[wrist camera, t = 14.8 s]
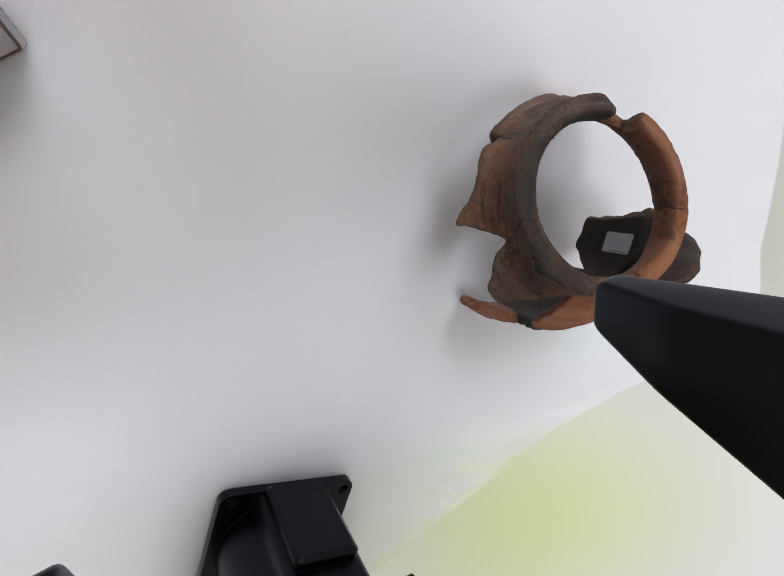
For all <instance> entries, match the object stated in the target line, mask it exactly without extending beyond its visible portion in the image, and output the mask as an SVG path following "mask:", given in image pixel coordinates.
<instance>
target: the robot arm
mask: <svg viewBox="0 0 784 576" xmlns="http://www.w3.org/2000/svg"><path fill="white" fill-rule="evenodd" d="M594 324H595V326H596V328H597V330H598V331H599V332H600V333H601V334H602V336H603V337H604V338H605V339H606V340H607V341H608V342H609V343H610V344H611V345H612V346H613V347H614V348H615V349H616V350H617V351H618V352H619V353H620V354H621V355H622V356H623V357H624V358H625V359H626V360H627V361H628V362H629V363H630V364H631V365H632V366H633V367H634V368H635V369H636V371H637V372H638V373H639V374H640V375H641V376H642V377H643V378H644V379H645V380H646V381H647V382H648V383H649V384H650V385H651V386H652V387H653V388H654V389H655V390H656V391H657V392H659V393H660V394H661V395H662V396H663V397H664V398H665V399H666V400H667V401H669V402H670V403H671V404H672V405H674V406H675V407H676V408H677V409H678V410H679V411H681V412H682V413H683V414H684V415H685V416H686V417H688V418H689V419H690V420H691V421H692V422H693V423H695V424H696V425H697V426H698V427H699V428H700V429H702V430H703V431H704V432H705V433H706V434H707V435H709V436H710V437H711V438H712V439H713V440H714V441H716V442H717V443H718V444H719V445H720V446H721V447H723V448H724V449H725V450H726V451H728V452H729V453H730V454H731V455H732V456H733V457H734V458H736V459H737V460H738V461H739V462H740V463H741V464H743V465H744V466H745V467H746V468H747V469H749V470H750V471H751V472H752V473H753V474H754V475H756V476H757V477H758V478H759V479H760V480H762V481H763V482H764V483H765V484H766V485H767V486H768V487H770V488H771V489H772V490H773V491H774V492H776V493H777V494H778V495H779V496H780V497H781V498H783V499H784V297H777V296H769V295H762V294H755V293H748V292H741V291H734V290H727V289H720V288H712V287H705V286H698V285H691V284H684V283H677V282H670V281H663V280H655V279H648V278H641V277H634V276H627V275H614V276H611V277H609V278H607V279H606V280H604V281H602V282H600V283H599V284H598V285H597V286H596V289H595V301H594ZM351 488H352V483H351V481H350V479H349V478H348V476H346V475H338V476H329V477H321V478H313V479H305V480H297V481H289V482H281V483H273V484H265V485H256V486H248V487H240V488H232V489H228V490H225V491H223V492H222V493H221V494H220V495H219V496H218V498H217V500H216V504H215V508H214V512H213V516H212V519H211V523H210V527H209V531H208V535H207V539H206V543H205V546H204V550H203V554H202V558H201V562H200V566H199V569H198V573H197V576H370V575H369V573H368V571H367V570H366V568H365V566H364V564H363V562H362V560H361V558H360V556H359V554H358V552H357V551H358V547H357V545H356V543H355V541H354V539H353V537H352V535H351V533H350V532H349V530H348V528H347V526H346V524H345V522H344V520H343V518H342V513H343V510H344V508H345V505H346V502H347V499H348V496H349V494H350V491H351ZM230 500H231V501H230ZM228 501H229V502H228ZM33 576H74V575H73V574H72V573H71V572H70V571H69V570H68V569H67V568H66V567H65V566H64V565H61V564H56V565H52V566H50V567H48V568H46V569H45V570H43V571H41V572H39V573H37V574H35V575H33ZM407 576H414V575H413V574H412V573H411V574H409V575H407Z"/></svg>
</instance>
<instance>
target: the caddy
mask: <svg viewBox="0 0 784 576" xmlns="http://www.w3.org/2000/svg"><path fill="white" fill-rule="evenodd" d="M26 44H27V41H26V39H25V38H24V37H23V35H22V34H21V33H20V32H19V30H18V29H17V28H16V26H15V25H14V24H13V22H12V21H11V20H10V19H9V17H8V16H7V15H6V13H5V12H4V11H3V10H2V8H1V7H0V62H1V61H3V60H5V59H7V58H9V57H11V56H13V55H15V54H17V53H19V52H21V51H22V49H23V48H24V47H25V45H26Z"/></svg>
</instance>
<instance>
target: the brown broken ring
mask: <svg viewBox="0 0 784 576" xmlns="http://www.w3.org/2000/svg"><path fill="white" fill-rule="evenodd" d="M615 114H616V107H615V106H614V105H613V104H612V103H611V101H610V100H609V99H608V98H607V97H606V95H604V94H602V93H591V94H583V95H578V96H576V97H570V96H565V95H563V96H559V95H556V94H544V95H541V96H538V97H535V98H532V99H531V100H528V101H526V102H524V103H523V104H521V105H519V106H517V107H516V108H515V109H513V110H512V111H511V112H509V113H508V114H507V115H506V116H505V117H504V118H503V119H502V120H501V121H500V122H499V123H498V124H497V125H495V126H494V128H493V129H492V130H491V132H490V140H491V143H490V144H488V145H486V146H485V147H484V148H483V149H482V152H481V155H480V158H479V162H478V173H477V176H476V181H475V186H474V189H473V192H472V194H471V196H470V198H469V201H468V203H467V204H466V205H465V207H464V208H463V209H462V211H461V213H460V215H459V217H458V219H457V221H456V225H458V226H468V227H472V228H476V229H478V230H481V231H486V232H490V233H492V234H495V235H498V236H500V237H502V238H504V239H505V240H506V243H505V244H504V246H503V247H502V248H501V249H500V250H499V251H498V252H497V253H496V255H495V258H494V262H493V268H492V277H491V280H490V281H489V283H488V287H487V288H488V291H489V293H490V294H491V295H492V297H493V298H494V300H495V301H497V302H485V301H480V300H477V299H475V298H472V297H470V296H466V295H464V296H462V297H461V299H460V302H461V303H462V304H463V305H465V306H468V307H469V308H470V309H472V310H474V311H475V312H477V313H479V314H480V315H482V316H484V317H487V318H491V319H496V320H499V321H503V322H511V323H519V324H521V325H525V326H526V327H528V328H532V329H534V330H542V329H544V330H565V329H569V328H573V327H576V326H580V325H584V324H588V323H591V322H593V321H594V301H595V289H596V286H597V285H598V284H599V283H600V282H602V281H604V280H606V279H607V278H609V277H611V276H614V275H627V276H634V277H641V278H648V279H655V280H663V281H670V282H677V283H688V282H690V281H691V280H692V279H693V278H694V277H695V276H696V275H697V274H698V273H699V271H700V256H701V250H700V248H699V246H698V245H697V242H696V241H695V239H694V238H692V237H691V236H690V235H689V234H687V233H685V230H686V225H687V219H688V195H687V187H686V181H685V178H684V173H683V169H682V166H681V163H680V160H679V157H678V155H677V154H676V152H675V150H674V149H673V146H672V143H671V142H670V141H669V139H668V137H667V136H666V134H665V133H664V131H663V130H662V129H661V128H660V127H659V125H658V124H657V123H656V122H655V121H654V120H653V119H652V118H651V117H649V116H648V115H646V114H645V113H639V114H636V115H634V116H632V117H631V118H629V119H628V120H622V119H621V118H620V117H618V116H617V115H615ZM580 121H597V122H599V123H602V124H605V125H607V126H608V127H610V128H611V129H612V130H613V131H615V132H616V133H617V134H618V135H620V136H621V137H622V138H623V139H624V140H625V141H626V142H627V143H628V145H629V146H630V147H631V148H632V150H633V151H634V153H635V155H636V156H637V157H638V158H639V160H640V162H641V164H642V167H643V169H644V171H645V174H646V176H647V179H648V182H649V185H650V189H651V194H652V202H653V205H654V209H652V208H647V209H644V210H643V211H641V212H632V213H629V214H627V215H624V216H604V217H601V218H598V217H593V216H590V217H588V218H587V219H586V220H585V223H584V225H583V229H582V232H581V235H580V236H579V238H578V240H577V242H576V248H577V249H578V251H579V255H580V260H581V262H582V264H583V267H584V269H579V268H575V267H573V266H571V265H570V264H569V263H567V262H566V261H565V260H564V259H563V258H562V257H561V255H560V254H559V253H558V252H557V251H556V249H555V248H554V247H553V246H552V244H551V243H550V241H549V240H548V238H547V236H546V234H545V232H544V230H543V227H542V225H541V222H540V221H539V216H538V209H537V204H536V177H537V171H538V166H539V162H540V159H541V157H542V155H543V153H544V151H545V149H546V147H547V146H548V144H549V142H550V141H551V140H552V139H553V138H554V137H555V136H556V135H557V134H558V133H559V132H560V131H561V130H562V129H563V128H565V127H566V126H568V125H570V124H572V123H576V122H580Z"/></svg>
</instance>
